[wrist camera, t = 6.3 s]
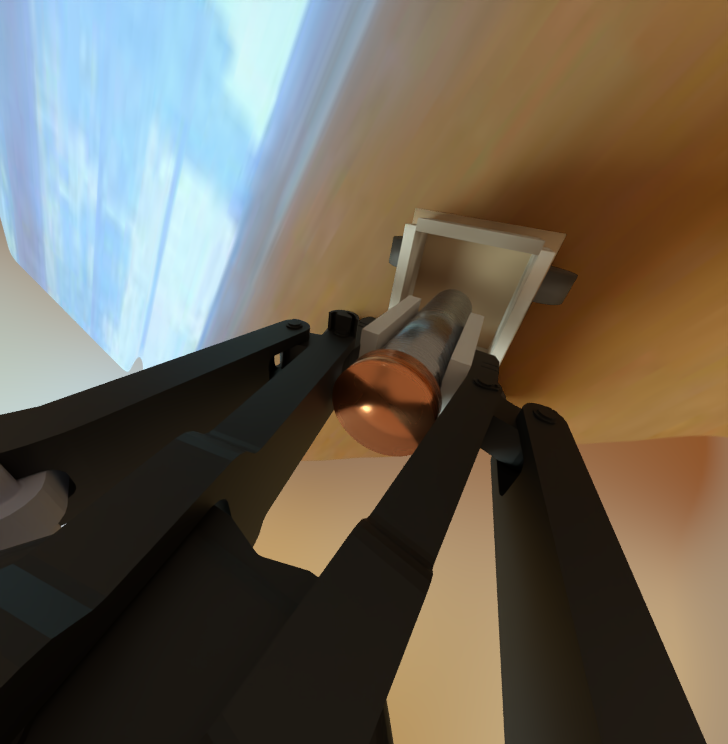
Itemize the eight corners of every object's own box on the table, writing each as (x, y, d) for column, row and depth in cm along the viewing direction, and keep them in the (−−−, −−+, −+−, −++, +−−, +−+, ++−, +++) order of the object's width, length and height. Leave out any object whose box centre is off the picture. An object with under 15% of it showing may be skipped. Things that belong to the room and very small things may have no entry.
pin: (433, 279, 19) (336, 347, 8) (485, 292, 17) (450, 390, 7) (419, 325, 20) (328, 429, 10) (466, 340, 19) (416, 472, 9)
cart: (410, 206, 28) (361, 198, 19) (588, 237, 23) (642, 247, 14) (376, 372, 41) (336, 418, 31) (489, 416, 36) (482, 486, 26)
